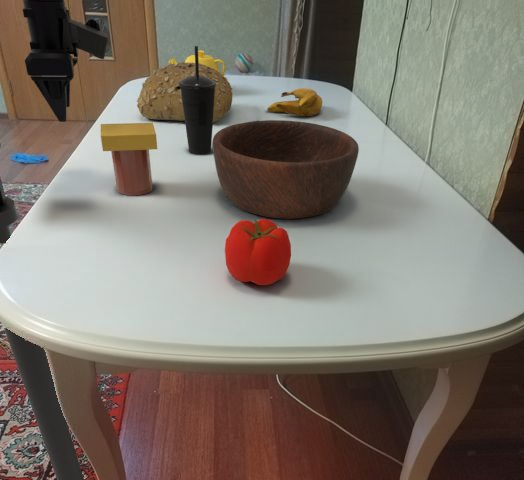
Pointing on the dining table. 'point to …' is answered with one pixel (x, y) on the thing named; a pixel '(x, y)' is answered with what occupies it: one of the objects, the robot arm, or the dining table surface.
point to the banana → (299, 103)
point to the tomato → (257, 251)
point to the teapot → (204, 61)
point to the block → (128, 136)
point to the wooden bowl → (284, 167)
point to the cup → (132, 171)
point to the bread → (179, 92)
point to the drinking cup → (198, 110)
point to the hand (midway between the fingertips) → (64, 113)
